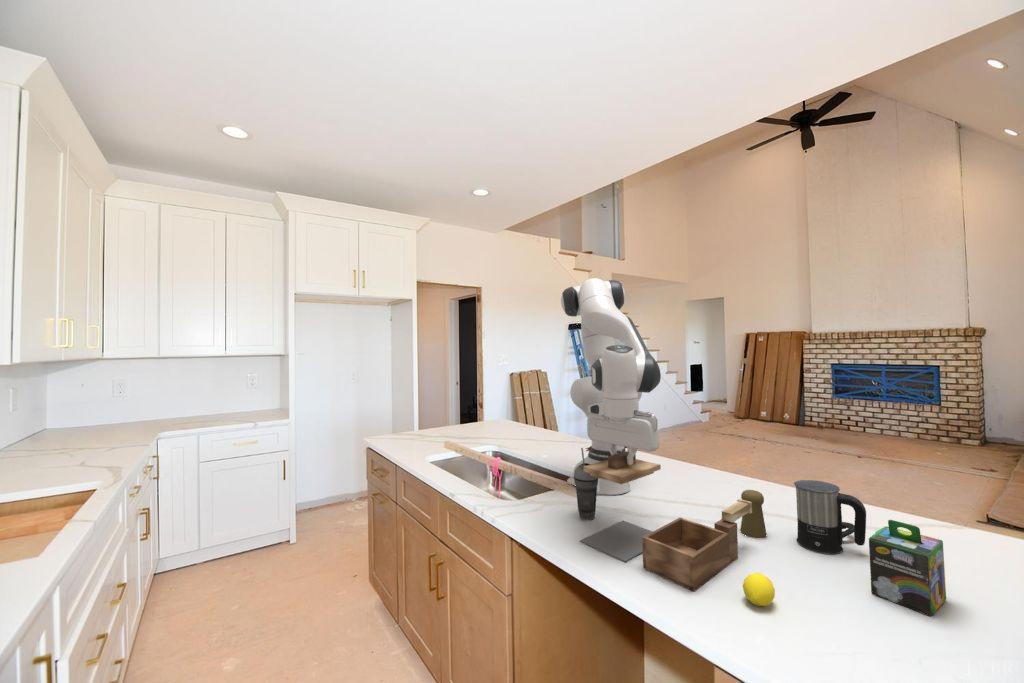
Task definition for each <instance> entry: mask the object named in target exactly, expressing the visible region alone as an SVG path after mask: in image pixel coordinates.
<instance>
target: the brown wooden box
mask: <svg viewBox="0 0 1024 683" xmlns="http://www.w3.org/2000/svg"><path fill="white" fill-rule="evenodd" d="M713 526H714V528H713V527H711V526H708V525H705V524H701V523H699V522H695V521H692V520H690V519H687V518H683V517H678V518H676V519H674V520H672V521H671V522H668V523H666V524H665V525H662V526H661V527H659V528H657V529H655V530H652V531H653V532H651V533H649V534H647V535H646V536H644V537H642V543H643V553H642V569H644V570H646V571H648V572H650V573H652V574H655V575H657V576H660V577H661V578H663V579H666V580H668V581H670V582H672V583H675V584H677V585H679V586H682V587H683V588H685V589H688V590H690V591H693V592H696V591H697V590H699V589H700V588H701V587H703V585H705V584H706V583H707V582H709V581H710V580H711V579H713V578H714V577H715V576H717V575H718V574H720V573H721V572H722V571H723V570H724V569H726V568H727V567H728V566H730V565H731V564H732V563H734V562H735V561H737V559H738V558H739V551H738V550H739V548H738V547H739V546H738V544H739V542H738V540H739V539H738V538H739V537H738V522H736V521H734V522H733V523H732V522H728V521H725V520H722V518H721V519H719V520H718V521H716V522H714V525H713Z"/></svg>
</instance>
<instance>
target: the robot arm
mask: <svg viewBox="0 0 1024 683" xmlns="http://www.w3.org/2000/svg"><path fill="white" fill-rule="evenodd" d="M625 300H626V291H625V289H624V287H623V284H622V283H621V282H620V280H616V279H614V280H613V279H609V280H603V279H600V278H597V277H592V278H589V279H587V280H584V282H582V284H580V285H576V286H570V287H567V288H565V289H564V290H563V292H562V294H561V297H560V304H561V308H562V310H563V312H564V313H565V315H567V316H568V317H575V318H576V317H578V316H580V318H581V322H580V323H581V324H580V330H581V342H582V347H583V354H584V360H585V362H586V363H587V364H588V365H589V366H590V367H591V376H585V377H581V378H577V379H575V380H574V381H573V382H572V384H571V386H570V389H569V390H570V392H569V394H570V398H571V401H572V402H573V404H574V405H575V406H576V407H578V408H579V410H581V411H582V412H583V413H584V414H585V416H586V418H587V420H586V433H587V437H588V438H589V440H590V441H591V445H590V446H589V447H586V448H585V449H586V450H585V452H588V454H587V456H585V457H584V461H585V463H588V464H594V463H598V462H602V461H605V460H608V456H611V455H615V454H619V453H622V452H626V451H628V452H629V454H628V456H627V457H624V460H625V461H624V463H625V464H628V465H632V464H633V457H634V455H635V454H636V453H637V452H638V450H639V451H645V452H648V453H649V452H650V453H651V452H655V451H657V450H658V449H659V448H660V447H661V441H660V434H659V428H658V427H659V425H658V418H657V417H656V416H655V415H654V414H653V413H652V412H649V411H642V410H640V409H639V407H640V406H639V402H640V400H641V398H642V397H643V396H642V395H643V393H646V394H650V393H651V392H652V391H654V390H655V389H656V388H657V387H658V385H660V383H661V368H660V366H659V364H658V362H657V360H655V358H654V357H653V355H652V354H651V352H650V351H649V349H648V347H647V345H646V344H645V342H644V340H643V338H642V335H641V334H640V332H639V331H638V328H637V326H636V325H635V323H634V322H633V320H632V318H630V317H629V316H627V315H625V314H624V313H623V312H622V311H621V309H622V308H623V306H624V304H625ZM615 340H617V341H618V340H619V341H620V342H622V343H623V344H624V345H622V344H616V343H615ZM626 448H627V450H626ZM580 464H583V459H582V460H581V461H579V462H578V463H577V464H576V465H575V466H574V469H573V473H574V472H575V470H576V468H577V467H578V466H579V465H580ZM573 477H574V475H572V476H569V478H567V480H566V483H567V484H569V485H571V484H572V485H571V486H573V485H575V481H574V478H573ZM630 490H631V487H630V482H627V483H624V484H618V483H615V482H611V481H608V480H605V479H601V478H599V479H598V485H597V495H610V496H611V495H612V496H614V495H623V494H626V493H628V492H629V491H630Z"/></svg>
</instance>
